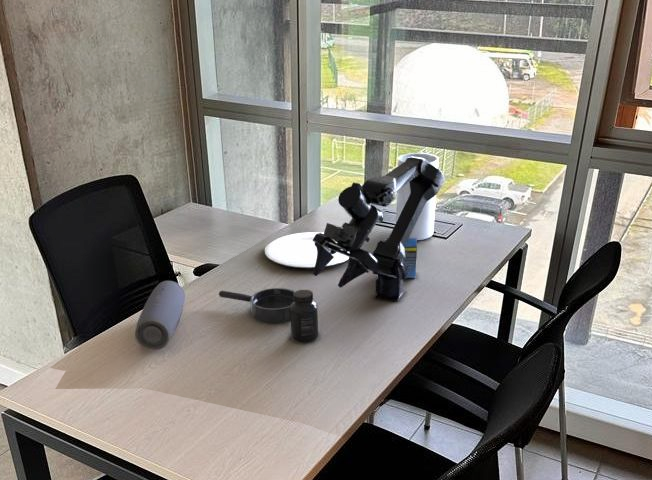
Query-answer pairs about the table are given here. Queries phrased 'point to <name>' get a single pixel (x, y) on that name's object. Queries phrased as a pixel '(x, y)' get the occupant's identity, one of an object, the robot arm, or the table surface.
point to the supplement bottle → (304, 317)
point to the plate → (298, 251)
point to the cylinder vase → (426, 218)
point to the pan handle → (235, 296)
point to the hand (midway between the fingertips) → (326, 280)
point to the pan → (272, 305)
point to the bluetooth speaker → (160, 315)
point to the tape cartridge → (411, 256)
